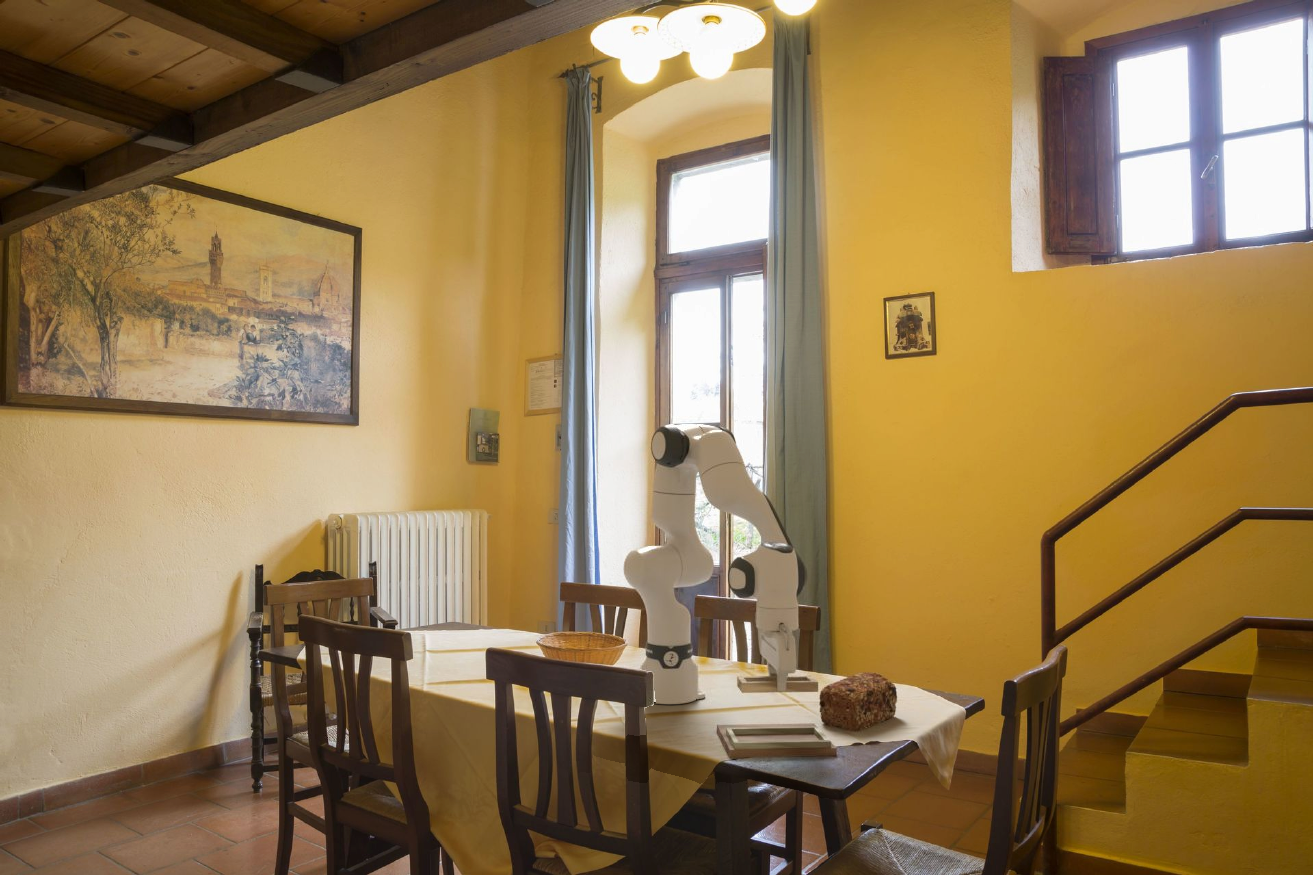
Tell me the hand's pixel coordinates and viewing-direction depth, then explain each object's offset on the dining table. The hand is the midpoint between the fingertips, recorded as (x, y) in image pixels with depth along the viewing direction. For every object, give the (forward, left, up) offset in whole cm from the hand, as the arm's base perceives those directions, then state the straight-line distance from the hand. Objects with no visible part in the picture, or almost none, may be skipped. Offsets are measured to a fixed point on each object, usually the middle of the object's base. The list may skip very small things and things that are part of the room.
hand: (777, 686), depth 184 cm
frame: (0, 0, -1) cm, 1 cm away
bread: (-19, +24, -13) cm, 33 cm away
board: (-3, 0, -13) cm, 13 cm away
